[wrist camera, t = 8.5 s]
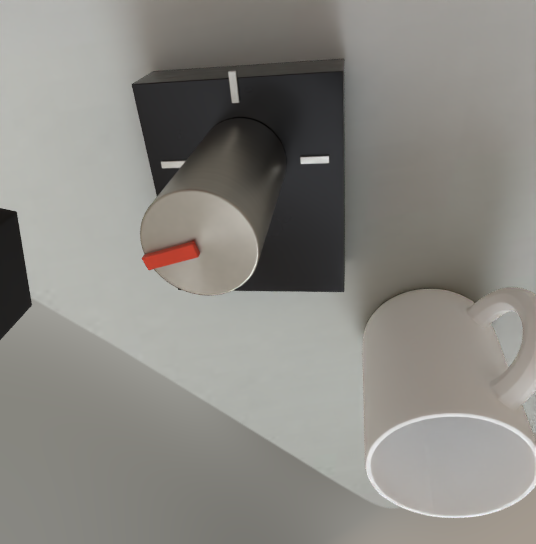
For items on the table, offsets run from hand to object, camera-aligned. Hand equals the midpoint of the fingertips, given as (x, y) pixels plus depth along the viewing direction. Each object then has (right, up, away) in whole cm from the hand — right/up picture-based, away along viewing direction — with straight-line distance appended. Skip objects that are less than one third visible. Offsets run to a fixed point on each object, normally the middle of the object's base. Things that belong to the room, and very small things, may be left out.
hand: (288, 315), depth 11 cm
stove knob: (-2, +7, +13) cm, 15 cm away
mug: (+11, -2, +20) cm, 23 cm away
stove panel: (-1, +7, +17) cm, 18 cm away
